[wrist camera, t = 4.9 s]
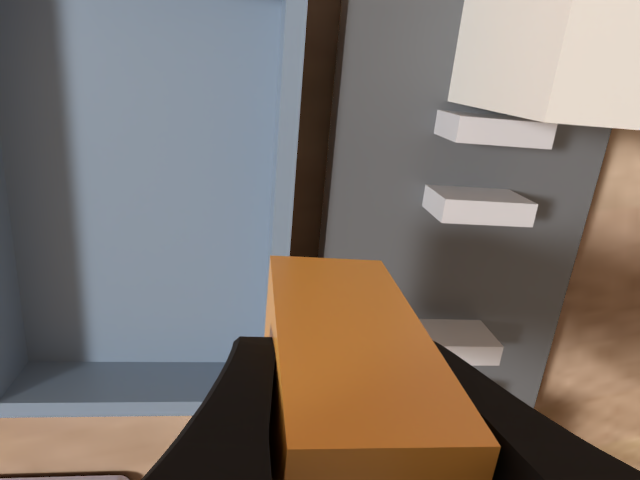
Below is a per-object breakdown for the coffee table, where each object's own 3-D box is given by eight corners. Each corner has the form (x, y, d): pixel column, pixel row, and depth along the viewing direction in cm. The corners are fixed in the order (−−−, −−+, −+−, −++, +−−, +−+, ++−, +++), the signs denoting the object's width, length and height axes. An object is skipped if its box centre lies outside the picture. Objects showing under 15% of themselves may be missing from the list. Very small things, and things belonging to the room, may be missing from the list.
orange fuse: (359, 402, 13) (441, 663, 7) (259, 402, 13) (265, 679, 7) (381, 260, 12) (501, 445, 6) (270, 255, 11) (287, 449, 6)
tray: (275, 367, 21) (278, 414, 18) (19, 367, 20) (-20, 417, 17) (301, -29, 16) (311, -47, 13) (-40, -70, 15) (-109, -100, 12)
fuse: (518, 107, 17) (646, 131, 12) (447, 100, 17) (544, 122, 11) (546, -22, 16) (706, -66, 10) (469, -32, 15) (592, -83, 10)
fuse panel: (493, 476, 25) (529, 538, 22) (296, 482, 24) (303, 550, 20) (635, -68, 17) (725, -98, 14) (351, -109, 16) (376, -153, 12)
